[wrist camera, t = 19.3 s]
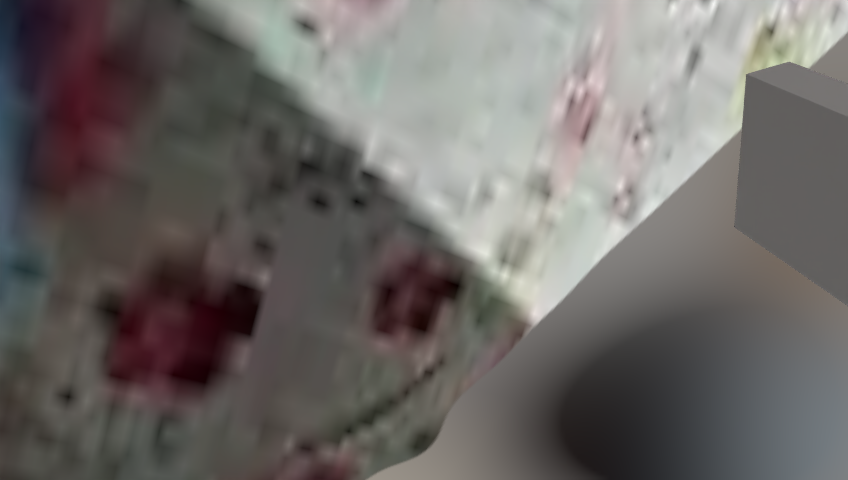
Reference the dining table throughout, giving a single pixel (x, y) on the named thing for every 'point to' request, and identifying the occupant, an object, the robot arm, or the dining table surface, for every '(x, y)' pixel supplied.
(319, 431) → the dining table surface
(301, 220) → the dining table surface
